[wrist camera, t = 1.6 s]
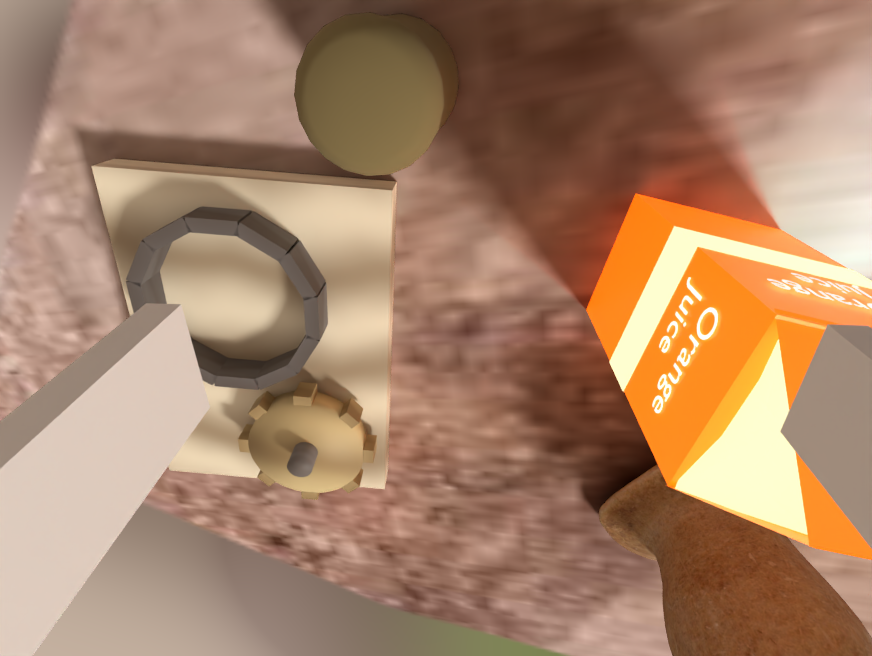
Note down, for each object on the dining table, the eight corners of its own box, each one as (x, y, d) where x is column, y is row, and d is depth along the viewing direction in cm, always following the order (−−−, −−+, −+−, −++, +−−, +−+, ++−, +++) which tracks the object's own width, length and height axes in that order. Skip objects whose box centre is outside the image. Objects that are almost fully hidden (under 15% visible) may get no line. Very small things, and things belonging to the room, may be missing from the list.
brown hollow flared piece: (663, 567, 43) (750, 793, 30) (573, 495, 40) (627, 717, 26) (839, 476, 37) (1042, 709, 24) (752, 383, 34) (935, 596, 21)
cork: (341, 139, 27) (276, 189, 18) (340, 8, 24) (259, -17, 15) (453, 149, 27) (446, 204, 18) (464, 19, 24) (464, 1, 15)
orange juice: (635, 190, 28) (918, 429, 11) (783, 227, 29) (1283, 511, 11) (583, 312, 32) (730, 636, 14) (715, 342, 32) (1009, 689, 15)
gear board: (114, 158, 28) (43, 181, 24) (396, 181, 28) (382, 209, 24) (182, 451, 39) (143, 507, 34) (388, 469, 39) (377, 528, 34)
